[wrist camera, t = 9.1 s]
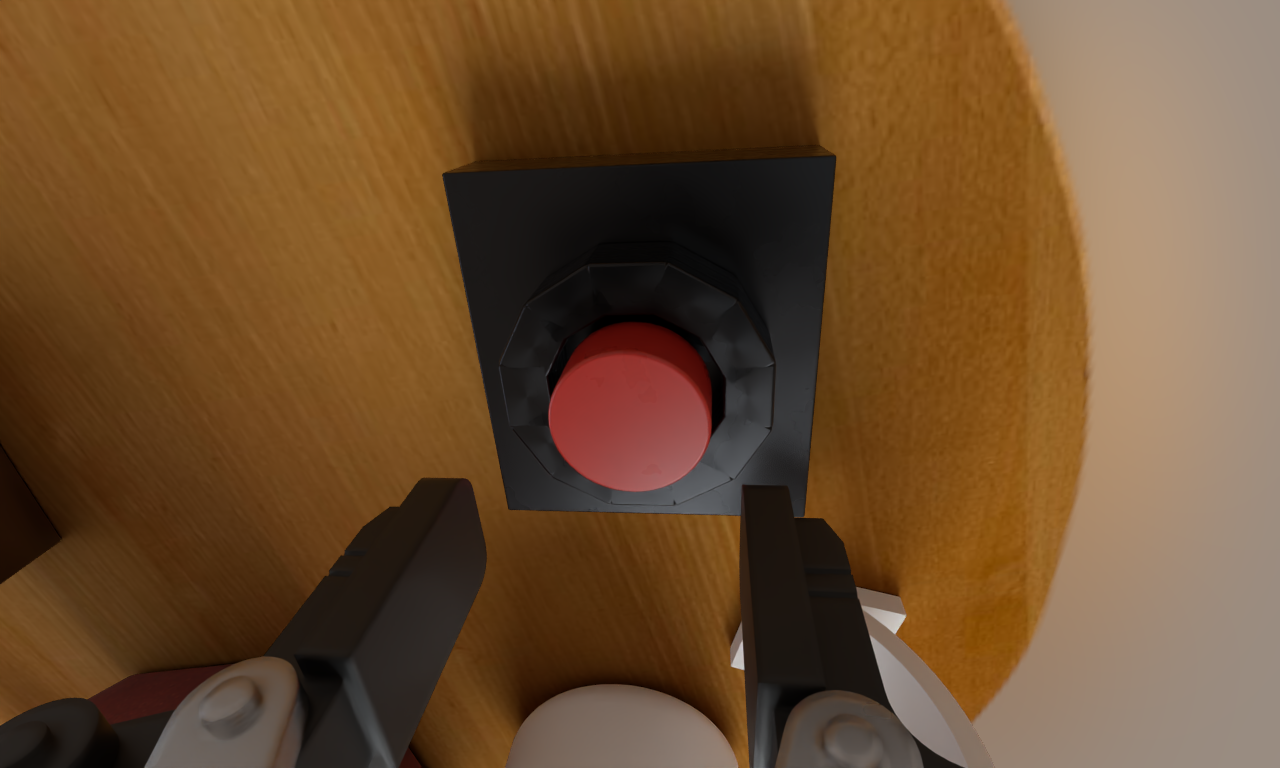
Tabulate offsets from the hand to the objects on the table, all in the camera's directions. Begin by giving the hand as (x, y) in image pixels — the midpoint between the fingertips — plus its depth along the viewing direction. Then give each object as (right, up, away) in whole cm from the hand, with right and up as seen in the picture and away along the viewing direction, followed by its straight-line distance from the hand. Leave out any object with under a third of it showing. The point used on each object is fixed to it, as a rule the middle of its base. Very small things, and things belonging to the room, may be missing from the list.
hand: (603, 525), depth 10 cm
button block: (+1, +4, +8) cm, 9 cm away
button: (+1, +2, +4) cm, 5 cm away
